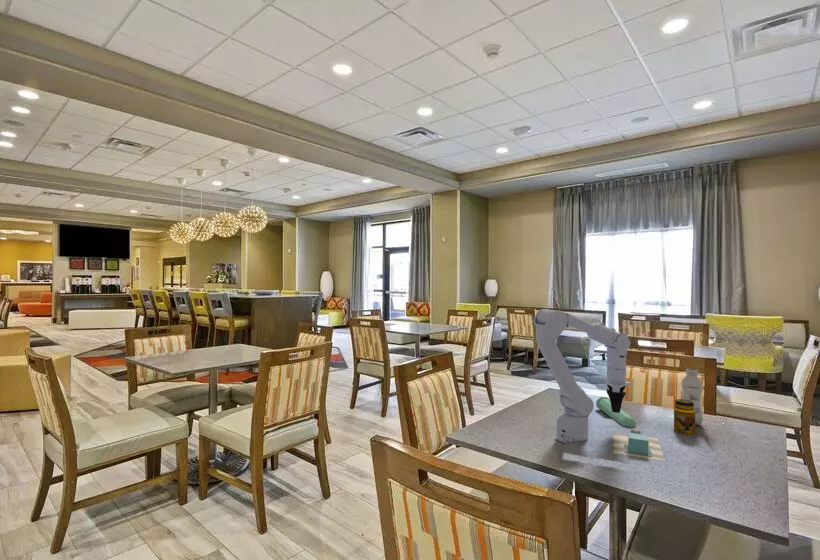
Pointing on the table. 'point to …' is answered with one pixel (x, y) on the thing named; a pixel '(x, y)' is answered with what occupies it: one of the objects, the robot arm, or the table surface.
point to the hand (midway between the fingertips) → (616, 409)
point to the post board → (622, 448)
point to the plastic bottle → (693, 392)
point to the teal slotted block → (638, 443)
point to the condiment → (684, 417)
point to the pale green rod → (621, 417)
